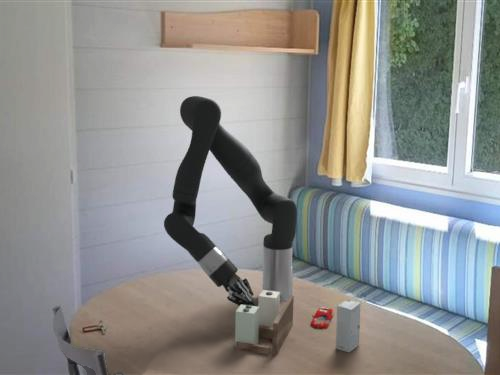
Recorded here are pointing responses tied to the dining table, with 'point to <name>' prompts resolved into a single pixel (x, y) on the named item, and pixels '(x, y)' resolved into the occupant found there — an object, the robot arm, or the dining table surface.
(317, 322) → the race car
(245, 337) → the pale green dotted block
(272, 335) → the wooden divided rack
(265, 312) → the white dotted block
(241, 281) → the robot arm
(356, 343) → the skincare box
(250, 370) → the dining table surface
